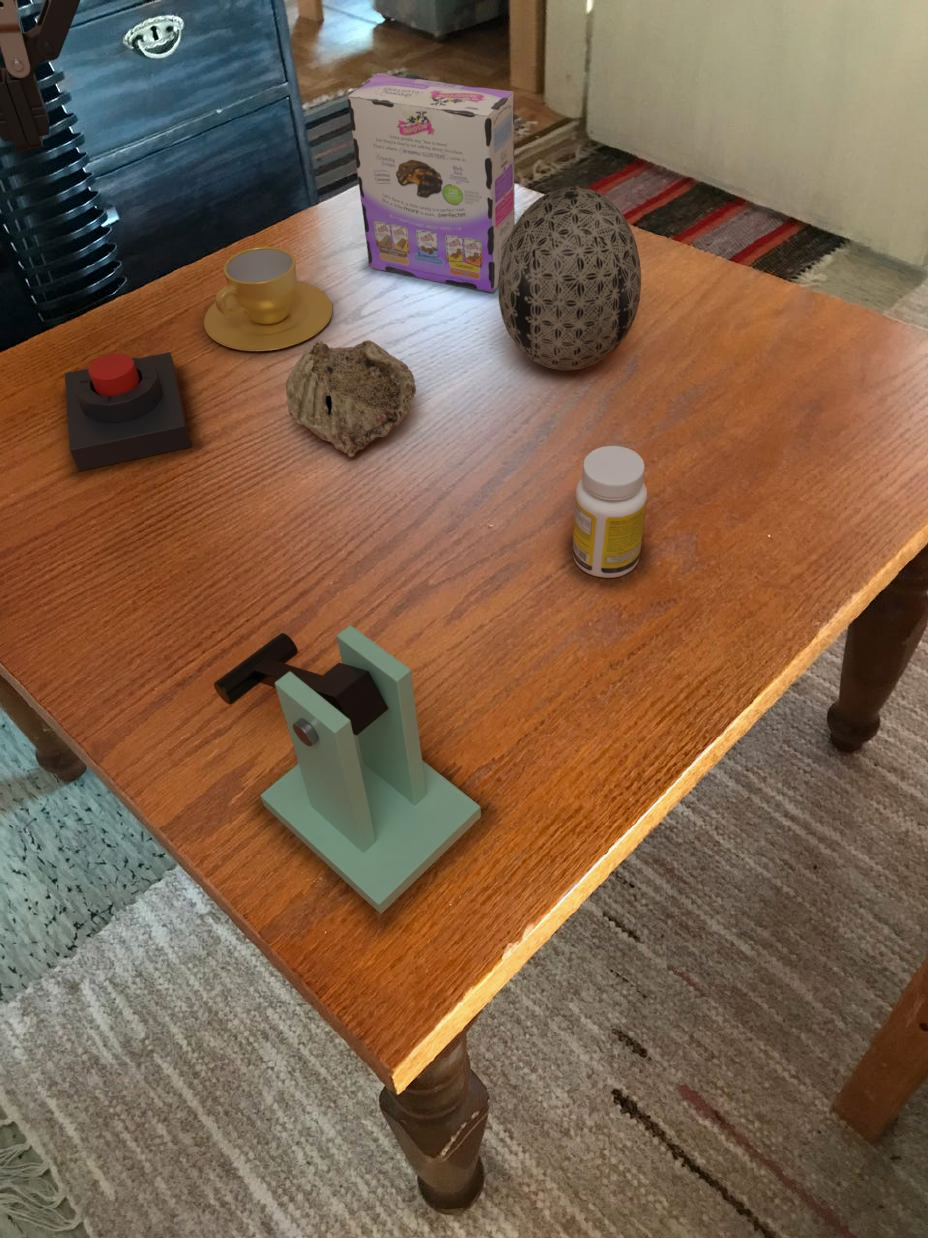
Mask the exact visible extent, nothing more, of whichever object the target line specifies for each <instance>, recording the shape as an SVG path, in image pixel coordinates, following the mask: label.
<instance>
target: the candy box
mask: <svg viewBox="0 0 928 1238" xmlns="http://www.w3.org/2000/svg"><path fill="white" fill-rule="evenodd" d="M347 104H348V105H347V106H348V112H349V118H350V125H351V133H352V139H353V146H354V147H353V148H354V158H355V164H356V175H357V181H358V188H359V196H360V204H361V209H362V218H363V219H362V220H363V225H364V233H365V241H366V250H367V258H368V261H367V264H368V267H370V268H371V269H375V270H379V271H383V272H390V273H396V274H399V275H403V276H407V277H415V278H420V279H423V280H428V281H432V282H438V283H442V284H443V283H444V284H448V285H454V286H458V287H464V288H469V289H473V290H478V291H482V292H483V291H485V292H489V293H494V291H496V289H498V280H499V271H500V264H501V259H502V255H503V251H504V248H505V245H506V242H507V240H508V237H509V235H510V233H511V231H512V229H513V227H514V225H515V224H516V221H515V214H516V213H515V194H516V193H515V91H514V90H513V91H512V90H502V89H495V88H489V87H488V88H487V87H480V86H472V85H464V84H457V83H451V82H443V81H435V80H429V79H428V80H427V79H422V78H413V77H406V76H400V75H399V76H398V75H391V74H385V73H379V72H378V73H376V74H375V75H373V76H371V78H369V79H368V80H367V81H366V82H364V83H363V84H362V85H361V86H359V87H358V88H356V89H355V90H354V91H352V92H351V93H350V94H349V95H347Z"/></svg>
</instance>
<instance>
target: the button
mask: <svg viewBox="0 0 928 1238" xmlns="http://www.w3.org/2000/svg"><path fill="white" fill-rule="evenodd" d="M131 357H132V356H130V355H128V354H125V353H122V352H121V353H120V352H119V353H117V352H116V353H108V354H105V355H102V356H100V357H98V358H96V359H94V360H93V361H92V362H91V363H90V365H89V366H88V368H89V369H88V368H87V369H88V372H89V375H90V378H91V380H92V383H93V385H94V388H95V390H96V392H97V393H98V394H100V395H105V396H114V395H119V394H124V393H126V392H128V391H130V390H132V389H133V388H135V387H137V386H138V384H139V375H138V372H137V370H136V367H135V364H134V361H133V359H132V358H133V357H132V358H131Z"/></svg>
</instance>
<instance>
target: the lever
mask: <svg viewBox="0 0 928 1238" xmlns="http://www.w3.org/2000/svg"><path fill="white" fill-rule="evenodd" d="M298 654H299V649H298V647H297V645H296V643H295V642H294V641H293V639H292V638H291V636H289V635H288V634H286V633H284V632H281V633H279V634H278V635H276V636H275V637H273V638H272V639H271V640H270V641H268V642H267V643H266V644H264V645H263V646H262V647H260V648H259V649H258V650H256V651H255V652H254V653H252V654H250V656H248V657H247V658H245V659H244V660H243V661H241V662H240V663H238V664H237V665H236V666H235V667H234V668H232V669H231V670H229V671H228V672H226V673H225V674H224V675H222V676H221V677H220V678H219V679H217V680H216V681H214V683H213V687H214V691H216V693H217V695H218V696H219V698H221V699H222V701H223V702H225V703H226V704H227V705H233V704H234V703H236V702H237V701H238V700H239V699H241V698H242V697H244V696H245V695H246V694H247V693H249V692H250V691H252V690H253V689H254V688H255V687H256V686H258V685H259V684H263V685H265V686H268V687H271V688H273V689H276V686H275V682H276V681H278V680H279V679H280V678H282V677H283V676H284V675H286V674H287V673H288V672H291V673H293V674H294V675H295V676H296V677H298V678H299V679H300V680H301V681H303V682H304V683H305V684H306V685H308V686H309V687H310V688H311V689H312V690H314V691H315V692H316V693H317V694H319V695H320V696H321V697H322V698H324V699H325V700H326V701H327V702H329V703H330V704H331V705H332V706H333V707H335V708H336V709H337V710H338V711H340V712H341V713H342V714H343V715H345V716H346V717H347V718H348V719H350V721H351V726H352V731H353V735H356V736H357V735H358V734H359V733H361V732H362V731H363V730H364V729H365V728H367V727H368V726H369V725H370V724H371V723H373V722H374V721H375V720H376V719H377V718H378V717H380V716H381V715H382V714H383V713H384V712H386V711H387V710H388V709H389V708H388V706H387V704H386V702H385V700H384V699H383V697H382V695H381V693H380V691H379V689H378V688H377V686H376V684H375V682H374V680H373V678H372V676H371V675H370V673H369V671H368V670H364V669H361V668H357V667H353V666H350V665H346V664H343V663H342V662H337V663H336V664H334V665H333V666H332V667H331V668H330V669H329V670H327V671H326V672H325V673H323V674H319V673H316V672H313V671H309V670H307V669H304V668H300V667H298V666H297V667H296V666H293V665H290V664H288V662H290V660H292V659H293V658H295V657H296V656H297V655H298Z"/></svg>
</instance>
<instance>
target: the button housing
mask: <svg viewBox="0 0 928 1238" xmlns="http://www.w3.org/2000/svg"><path fill="white" fill-rule="evenodd" d="M130 357H131V358H132V359H133V361H134V364H135V367H136V370H137V372H138V375H139V384H138V386H137V387H135V388H133V389H132V390H130V391H128V392H126V393H124V394H119V395H114V396H105V395H100V394H98V393H97V392H96V390H95V388H94V385H93V383H92V380H91V378H90V375H89V372H88V369H89V367H88V368H83V369H77V370H72V371H69V372H65V373H64V382H65V384H64V385H65V386H64V387H65V400H66V412H67V427H68V430H67V431H68V443H69V452H70V454H71V456H72V459H73V461H74V463H75V465H76V468H77V470H78V472H83V471H88V470H93V469H97V468H101V467H106V466H111V465H115V464H120V463H125V462H130V461H134V460H139V459H143V458H148V457H153V456H158V455H161V454H166V453H172V452H176V451H180V450H185V449H189V448H192V442H191V437H190V432H189V427H188V423H187V418H186V412H185V407H184V402H183V397H182V393H181V387H180V383H179V378H178V372H177V369H176V366H175V362H174V359H173V356H172V352H171V351H170V352H164V353H163V352H162V353H158V354H154V355H149V356H144V357H132V356H130Z"/></svg>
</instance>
